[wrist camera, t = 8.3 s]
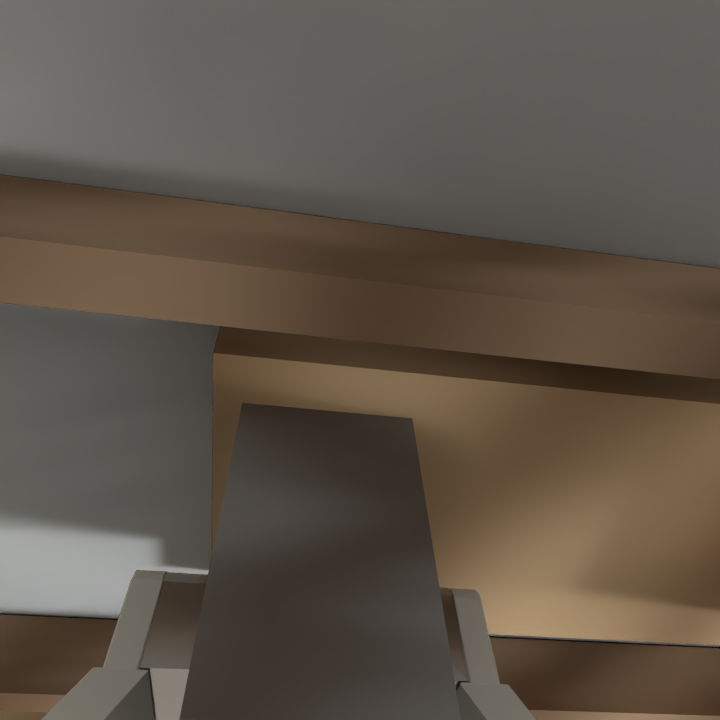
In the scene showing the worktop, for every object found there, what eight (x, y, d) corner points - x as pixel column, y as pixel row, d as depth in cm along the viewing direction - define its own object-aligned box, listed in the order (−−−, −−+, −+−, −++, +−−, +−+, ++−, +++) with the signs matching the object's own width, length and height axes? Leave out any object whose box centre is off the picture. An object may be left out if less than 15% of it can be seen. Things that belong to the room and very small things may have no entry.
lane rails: (1197, 331, 11) (1337, 395, 10) (635, 802, 26) (654, 859, 25) (-774, 73, 8) (-1068, 109, 6) (-124, 793, 23) (-159, 858, 21)
